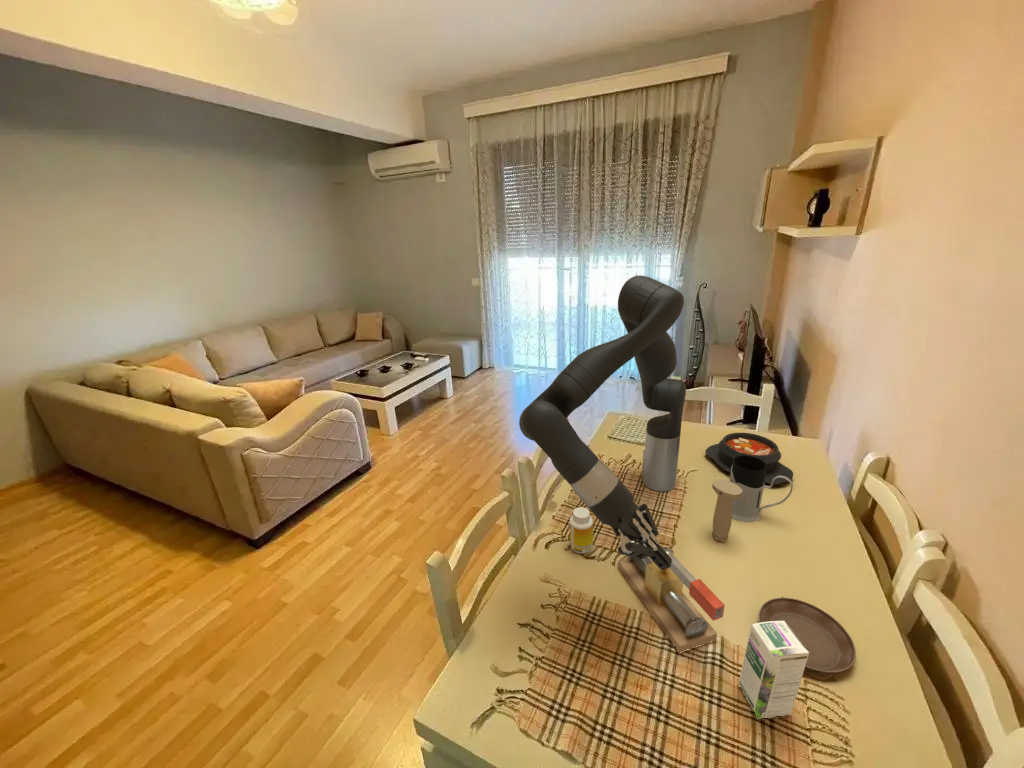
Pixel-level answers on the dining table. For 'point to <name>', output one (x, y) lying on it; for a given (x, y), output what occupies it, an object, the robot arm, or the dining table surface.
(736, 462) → the glass holder
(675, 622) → the oak base board
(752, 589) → the dining table surface
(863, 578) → the dining table surface
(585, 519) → the supplement bottle
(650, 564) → the brass ball valve
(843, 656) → the saucer
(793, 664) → the syrup box
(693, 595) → the valve lever
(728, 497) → the handle
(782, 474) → the casserole
